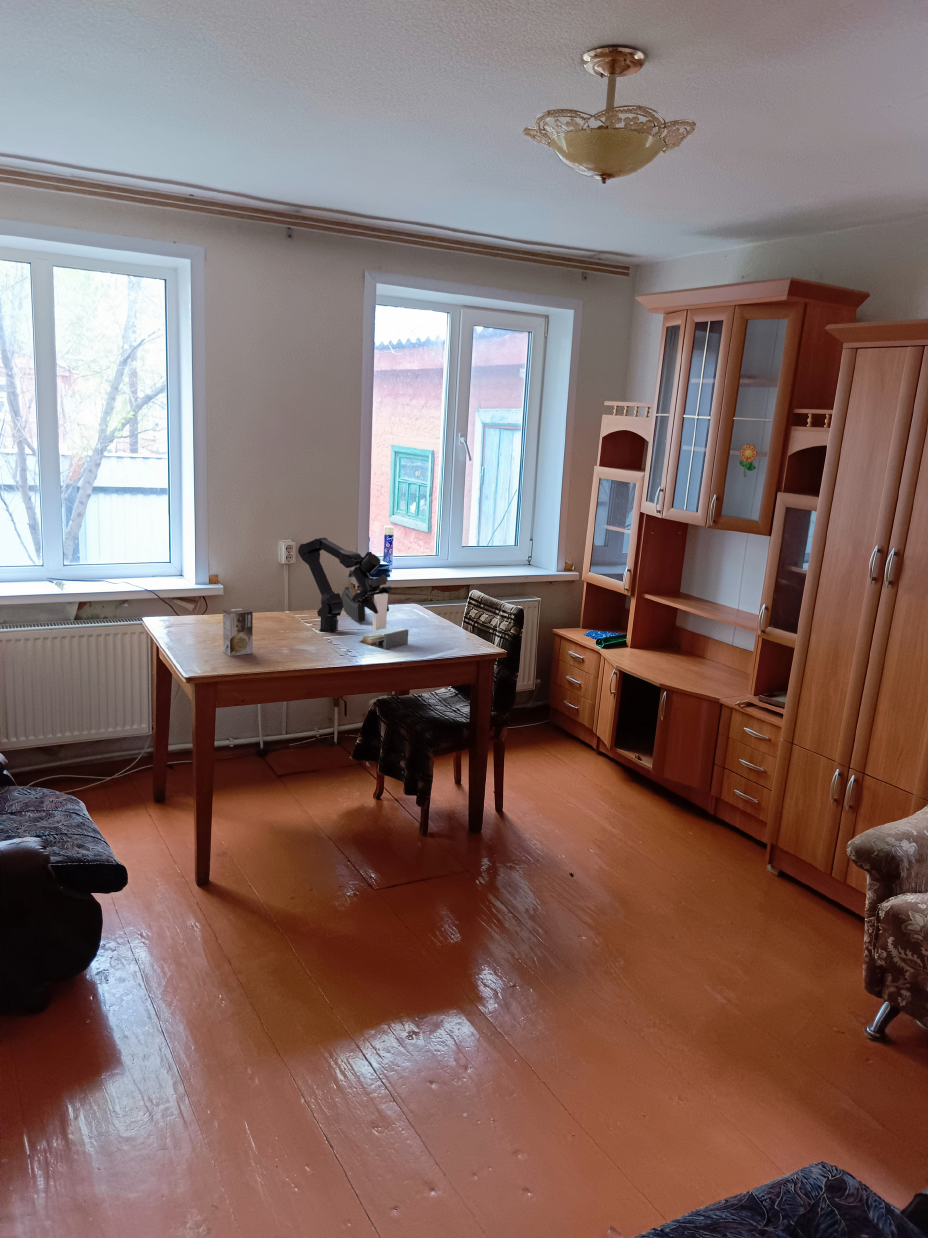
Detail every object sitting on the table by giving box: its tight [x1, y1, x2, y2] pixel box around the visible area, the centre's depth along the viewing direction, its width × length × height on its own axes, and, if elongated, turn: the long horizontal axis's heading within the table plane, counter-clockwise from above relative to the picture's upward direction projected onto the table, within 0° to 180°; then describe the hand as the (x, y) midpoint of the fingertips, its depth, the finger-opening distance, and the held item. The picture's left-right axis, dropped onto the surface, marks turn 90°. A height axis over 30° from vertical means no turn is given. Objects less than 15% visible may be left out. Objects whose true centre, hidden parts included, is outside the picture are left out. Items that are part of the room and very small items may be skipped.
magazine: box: [340, 586, 366, 623], centre depth 391 cm, size 17×3×30 cm
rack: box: [358, 628, 410, 651], centre depth 347 cm, size 15×13×7 cm
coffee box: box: [222, 607, 254, 657], centre depth 321 cm, size 9×6×16 cm
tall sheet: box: [372, 593, 389, 631], centre depth 346 cm, size 2×6×14 cm, turn 143°
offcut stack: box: [359, 633, 384, 646], centre depth 350 cm, size 6×11×2 cm, turn 143°
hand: (382, 612), depth 345 cm, fingers closed on tall sheet, 6 cm apart
